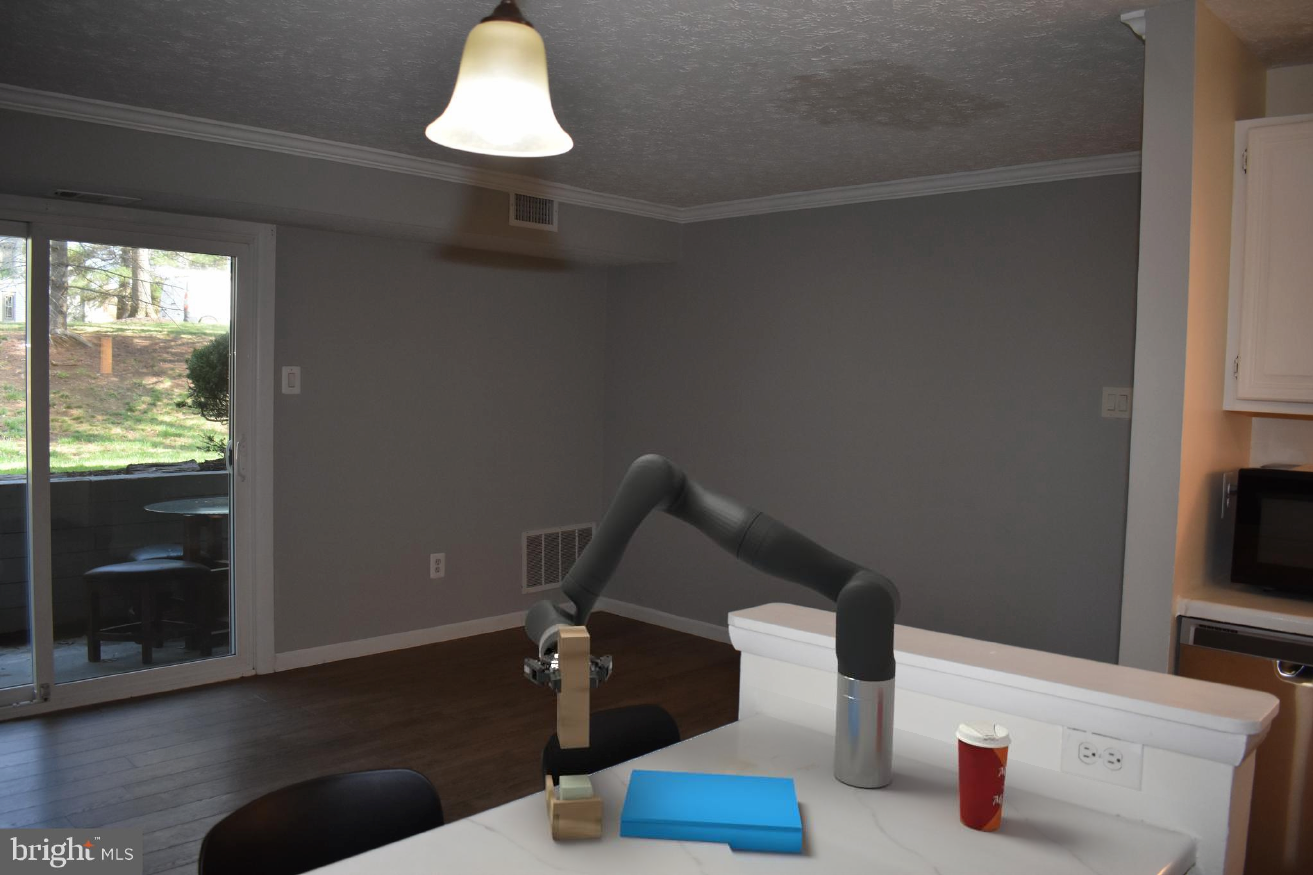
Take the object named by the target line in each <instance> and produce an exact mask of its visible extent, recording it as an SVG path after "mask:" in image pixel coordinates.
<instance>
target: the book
mask: <svg viewBox="0 0 1313 875" xmlns="http://www.w3.org/2000/svg"><path fill="white" fill-rule="evenodd" d="M629 778H630V779H629V781H628V787H627V791H626V794H625V795H626V796H625V798H624V801H623V802H624V803H623V807H622V811H621V815H620V827H619V828H620V829H619V837H626V838H627V837H631V838H648V839H649V838H650V839H660V840H661V839H665V840H677V841H695V842H711V843H712V842H713V843H727V846H728V847H729V849H733V850H748V851H749V850H750V851H767V852H780V853H781V852H783V853H784V852H785V853H797V854H799V853H801V854H802V851H803V849H802V846H803V827H802V820H801V815H800V809H799V804H798V798H797V794H796V787H795V781H794V778H793V777H775V776H761V775H756V776H755V775H739V774H723V773H722V774H720V773H705V772H704V773H703V772H685V771H684V772H683V771H668V770H667V771H666V770H665V771H664V770H652V769H651V770H650V769H649V770H648V769H632V770H631V774H630V777H629Z"/></svg>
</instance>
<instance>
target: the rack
mask: <svg viewBox="0 0 1313 875" xmlns="http://www.w3.org/2000/svg"><path fill="white" fill-rule="evenodd" d="M589 780H590V778H589ZM590 783H591V780H590ZM591 784H592V783H591ZM544 790H545V793H544V794H545V797H544V799H545V804H546V810H547V815H548V820H549V825H550V832H551V836H552V840H553V841H558V840H571V839H572V840H573V839H585V838H586V839H587V838H588V839H589V838H601V837H602V817H603V816H602V813H603V811H602V809H603V808H602V807H603V799H602V797H601V796H599V797H596V795H595V793H594V789H593V786H592V785H591V798H582V799H566V800H559V796H558V797H557V796H556V792H555V786H554V782H553V777H552V775H551V774H546V775H545V789H544Z"/></svg>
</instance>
